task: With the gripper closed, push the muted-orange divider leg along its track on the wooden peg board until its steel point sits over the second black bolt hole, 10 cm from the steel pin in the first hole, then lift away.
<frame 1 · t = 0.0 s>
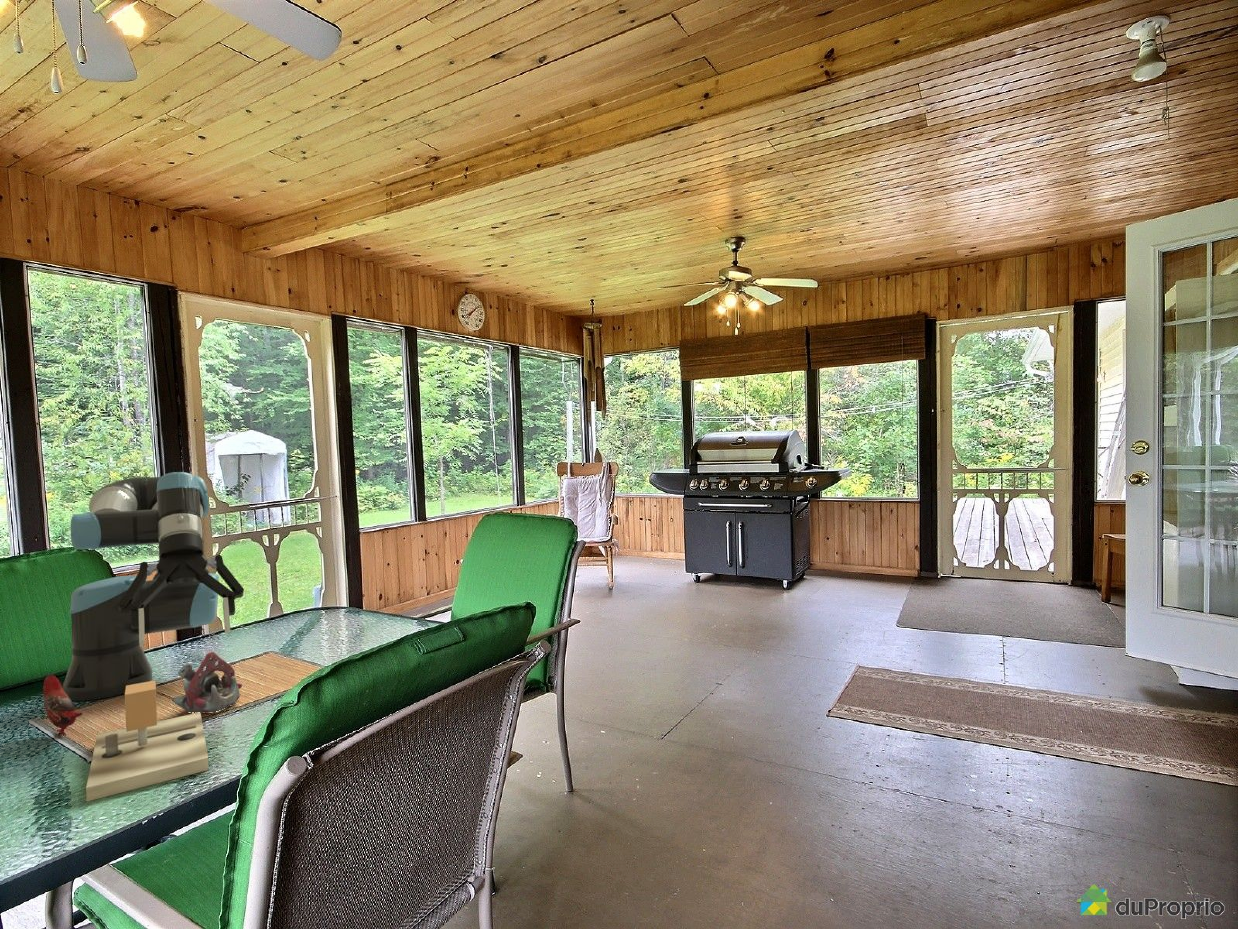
hand: (186, 637, 123), 15 cm above the table, tool tilted 35°, fingers open, 13 cm apart
wooden peg board: (150, 757, 107), on the table
divider leg: (141, 715, 106), point 7 cm above the table, slide at 0.0 cm
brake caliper: (210, 708, 128), on the table
decorative bird figurine: (65, 738, 115), on the table
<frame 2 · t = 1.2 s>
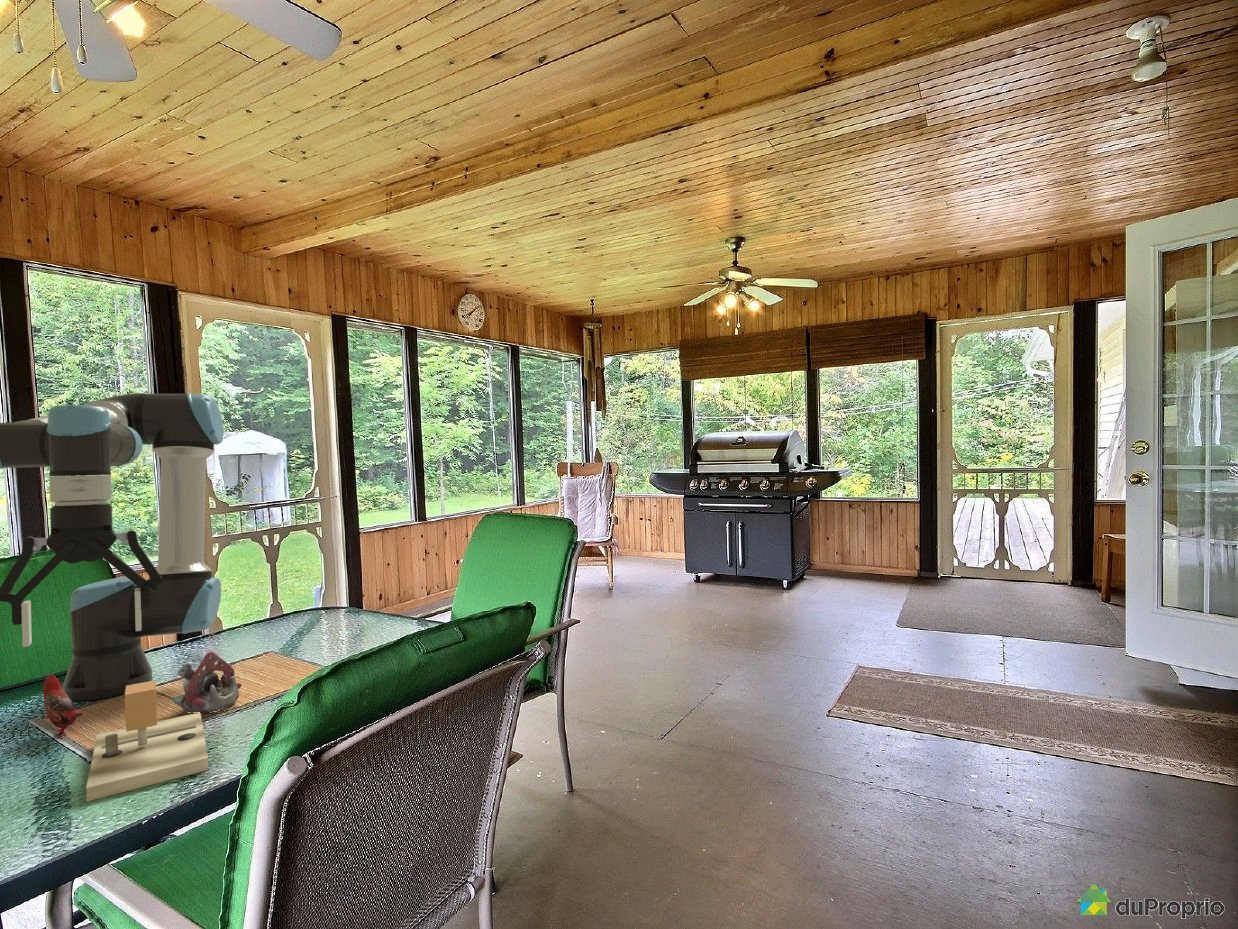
hand: (85, 637, 102), 22 cm above the table, tool pointing down, fingers open, 13 cm apart
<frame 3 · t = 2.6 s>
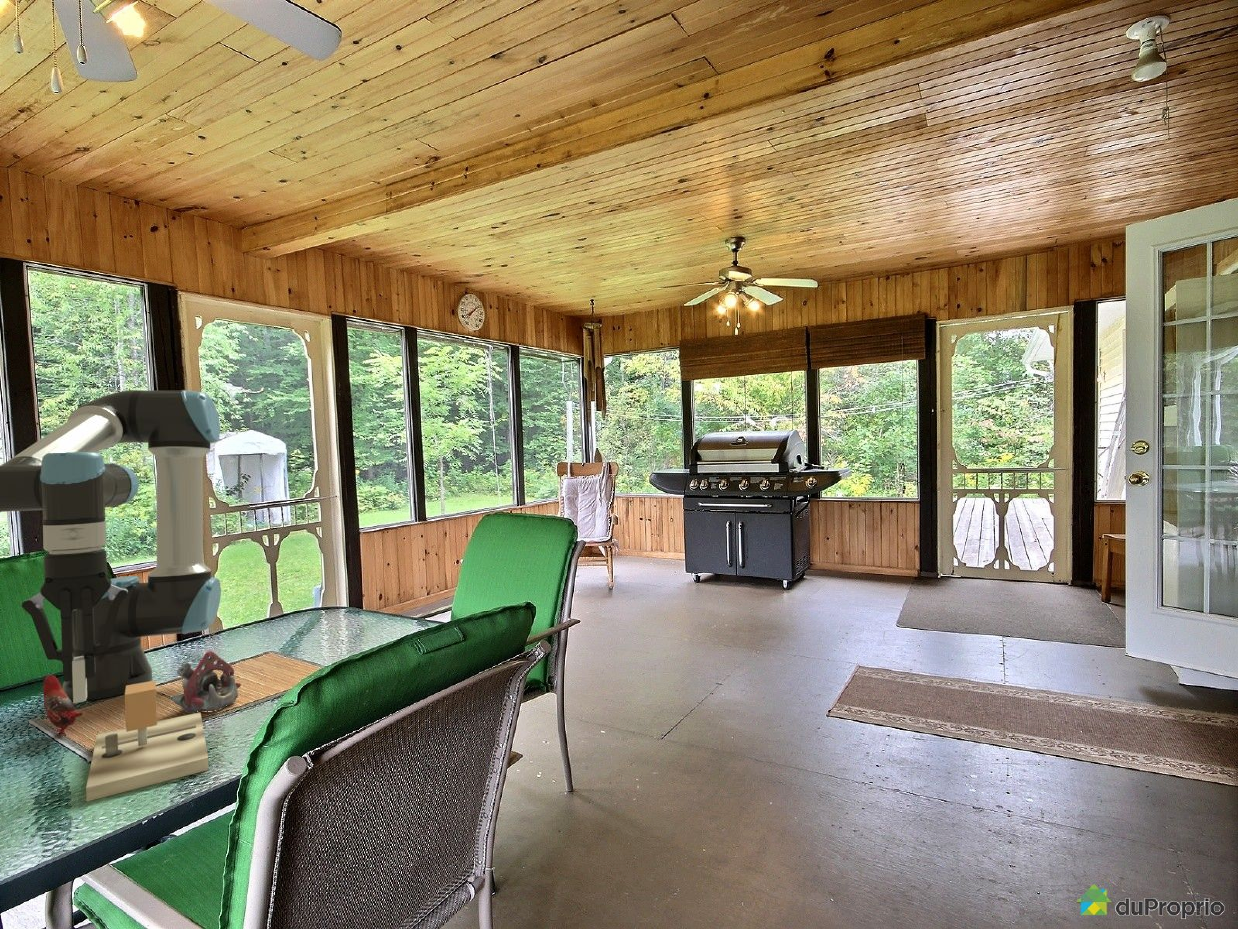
hand: (80, 699, 101), 12 cm above the table, tool pointing down, fingers closed
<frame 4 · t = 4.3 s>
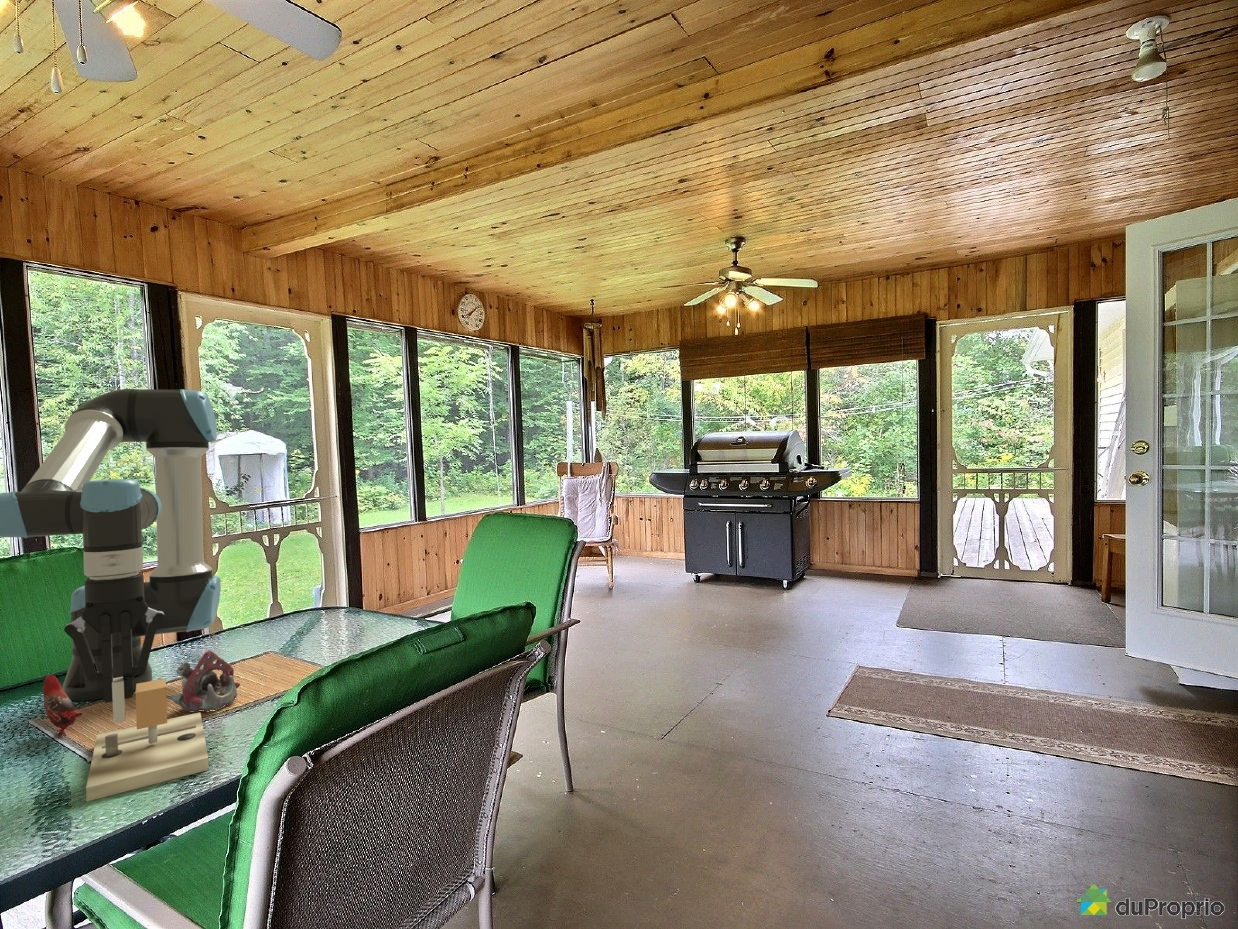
hand: (119, 719, 104), 7 cm above the table, tool pointing down, fingers closed
divider leg: (152, 713, 107), point 7 cm above the table, slide at 1.4 cm, touching gripper
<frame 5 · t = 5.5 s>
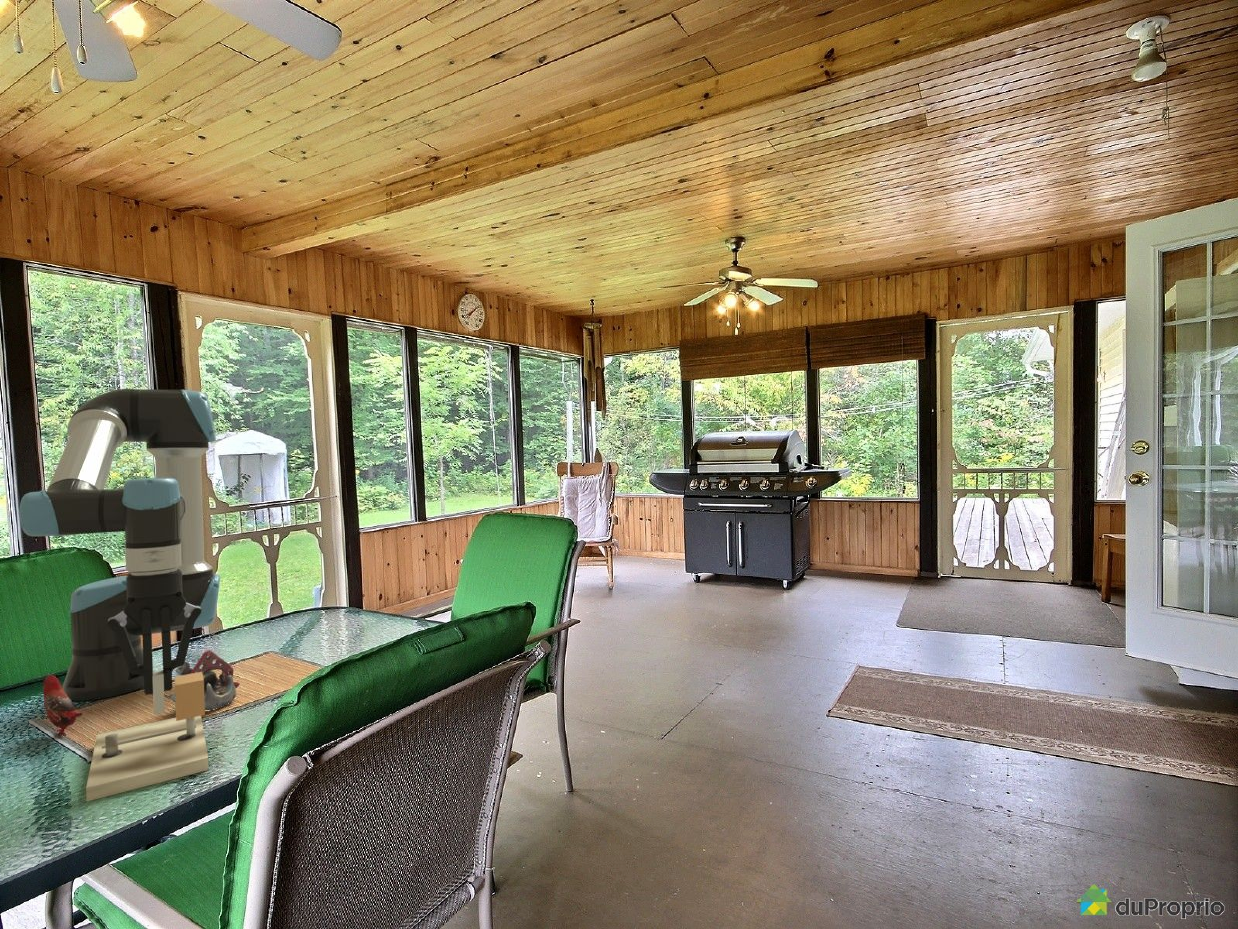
hand: (159, 711, 107), 7 cm above the table, tool pointing down, fingers closed
divider leg: (189, 705, 110), point 7 cm above the table, slide at 6.6 cm, touching gripper
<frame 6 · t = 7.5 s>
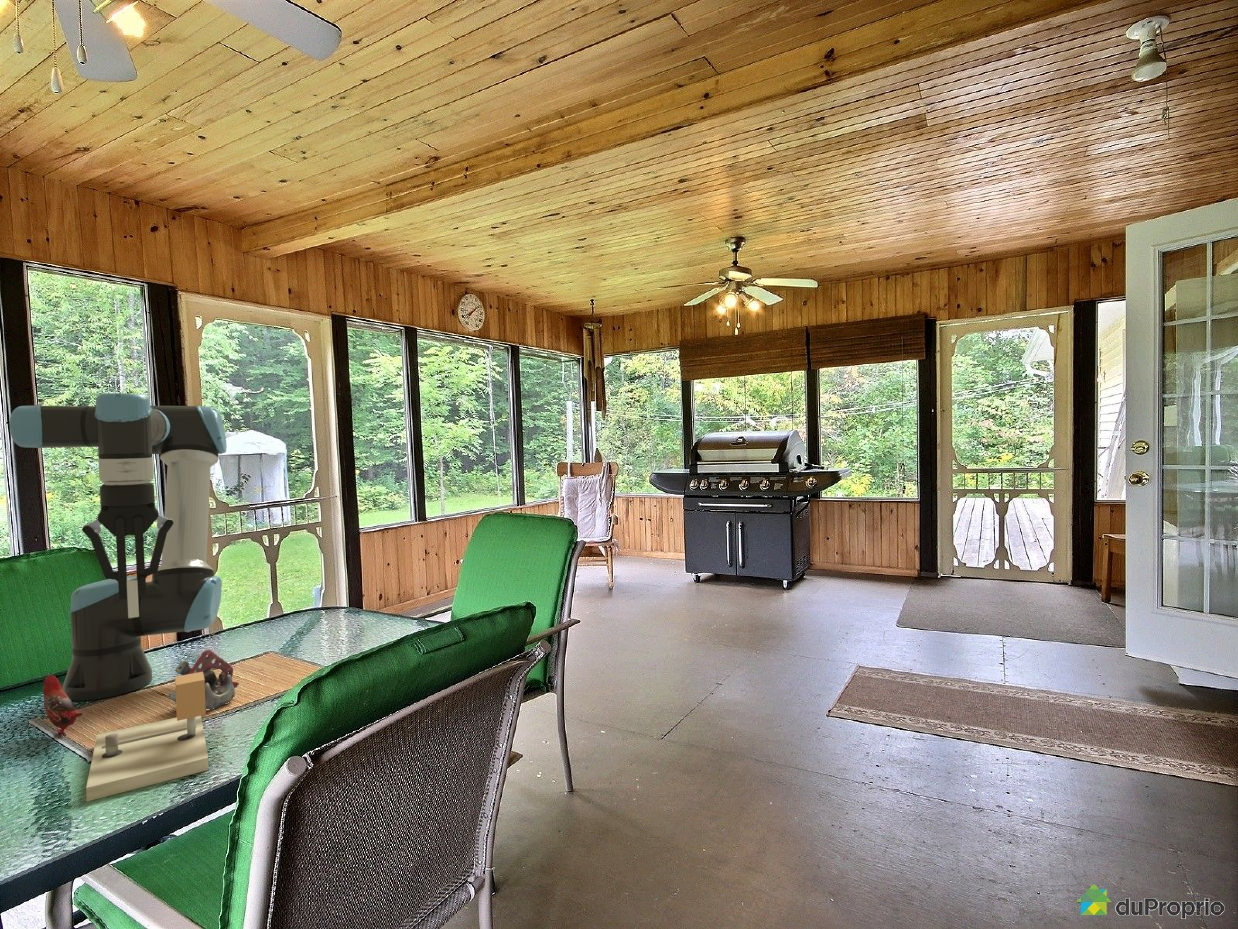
hand: (133, 615, 113), 22 cm above the table, tool pointing down, fingers closed
divider leg: (190, 705, 110), point 7 cm above the table, slide at 6.7 cm
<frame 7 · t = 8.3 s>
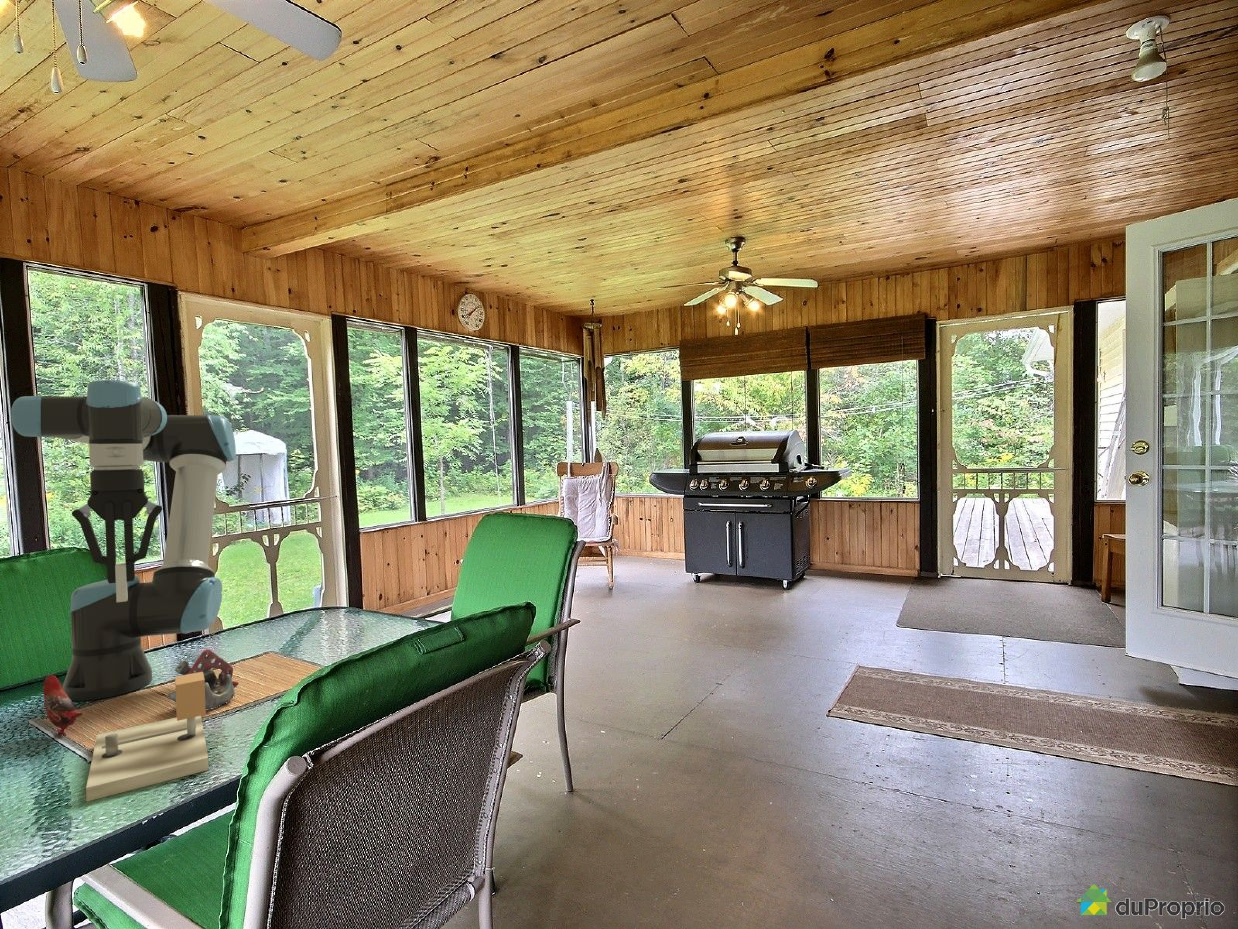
hand: (122, 600, 114), 24 cm above the table, tool pointing down, fingers closed
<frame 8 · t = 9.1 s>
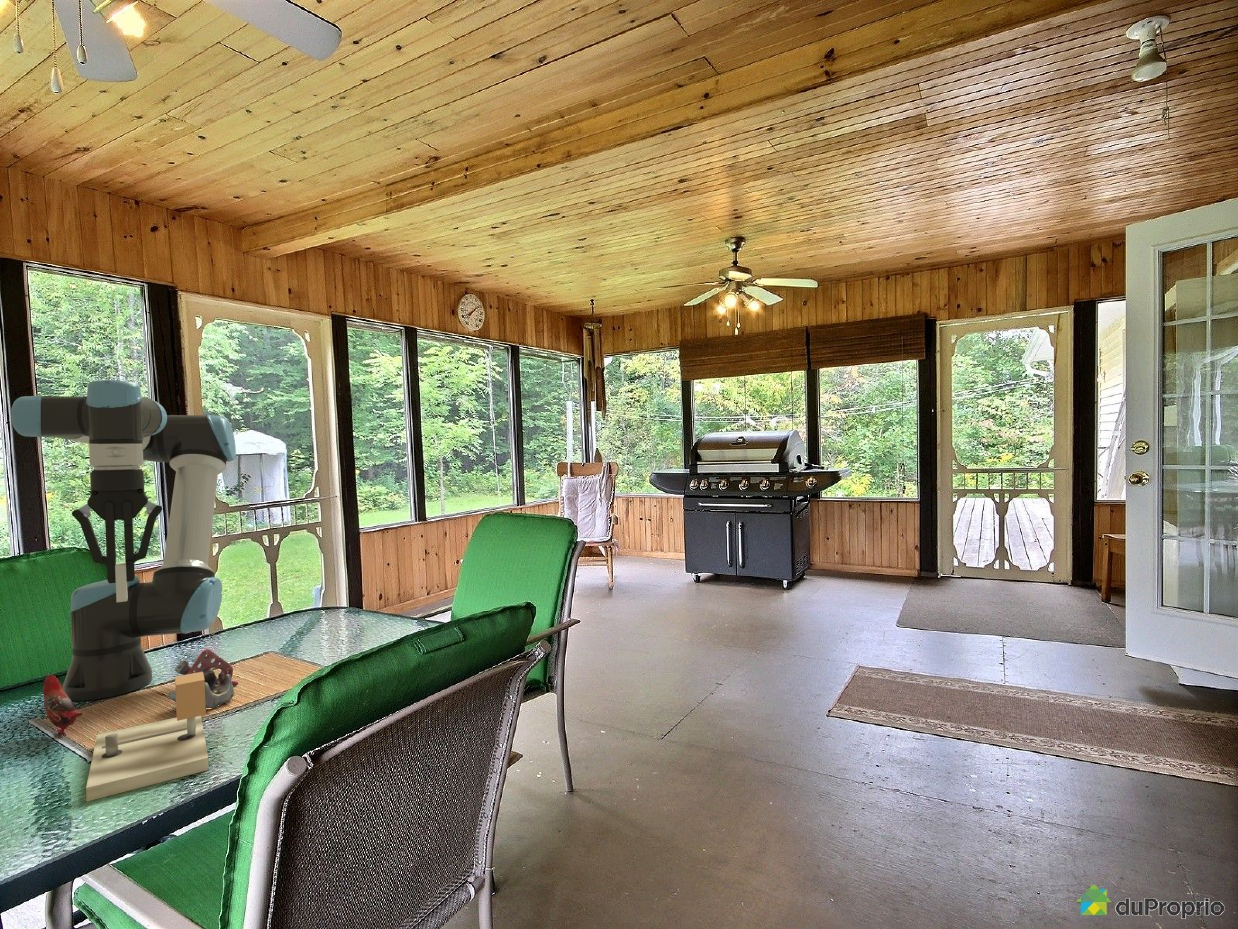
hand: (122, 600, 114), 24 cm above the table, tool pointing down, fingers closed
at the end: divider leg slide at 6.7 cm; the gripper is holding nothing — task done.
